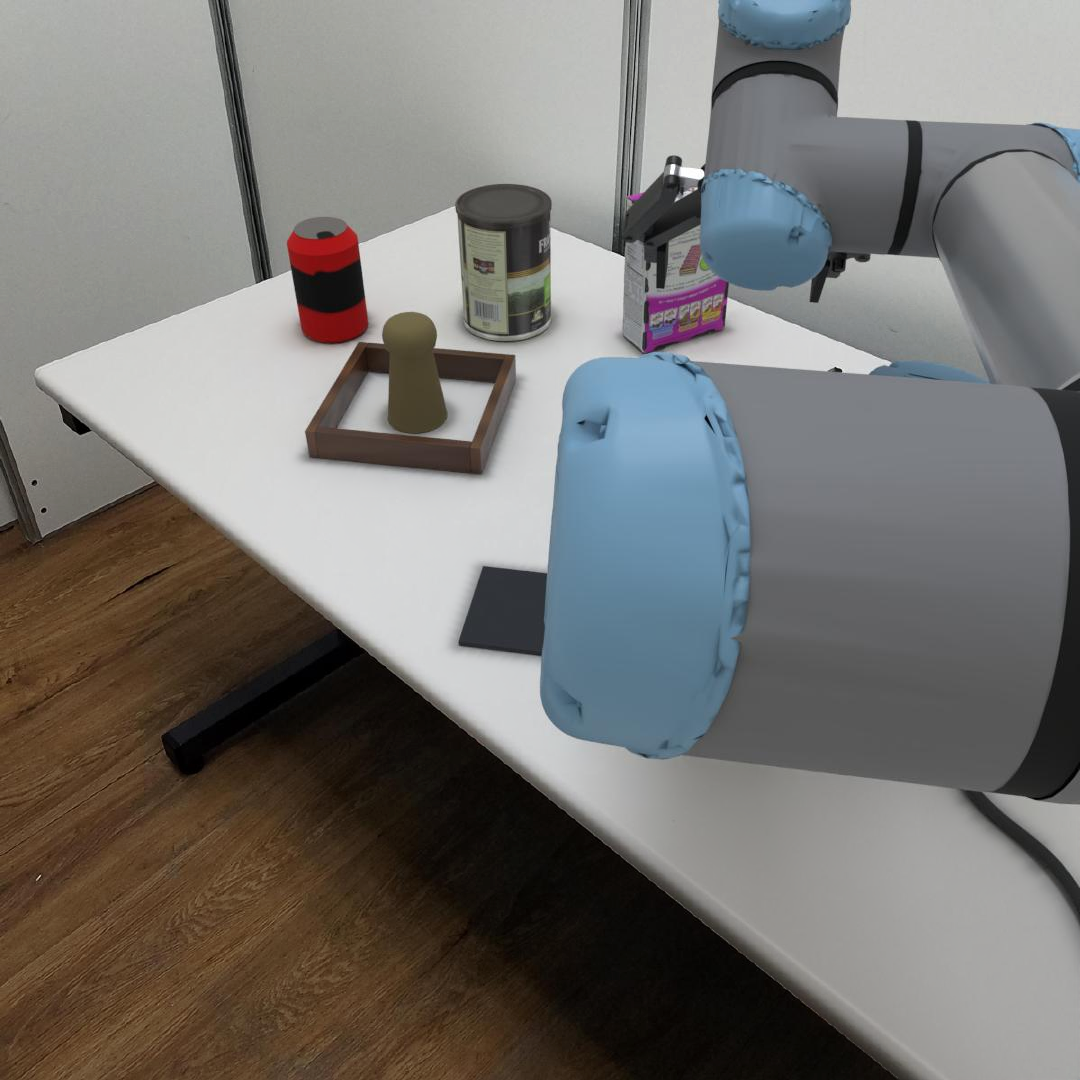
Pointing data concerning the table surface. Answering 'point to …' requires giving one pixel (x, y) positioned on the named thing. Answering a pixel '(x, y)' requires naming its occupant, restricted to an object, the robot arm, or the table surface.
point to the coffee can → (505, 261)
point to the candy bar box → (671, 293)
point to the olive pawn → (413, 374)
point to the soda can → (328, 279)
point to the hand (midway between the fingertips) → (737, 282)
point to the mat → (507, 611)
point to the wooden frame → (407, 448)
